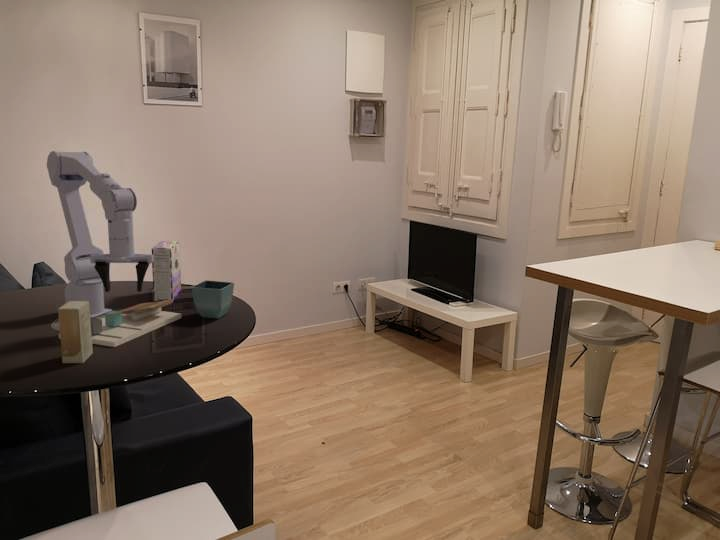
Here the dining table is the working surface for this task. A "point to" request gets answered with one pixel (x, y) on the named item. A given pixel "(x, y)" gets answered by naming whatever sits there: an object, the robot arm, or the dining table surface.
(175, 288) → the candy box
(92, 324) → the graphite slider
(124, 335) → the panel
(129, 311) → the panel
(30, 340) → the dining table surface
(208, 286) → the flower pot
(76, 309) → the skincare box
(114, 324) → the teal slider
